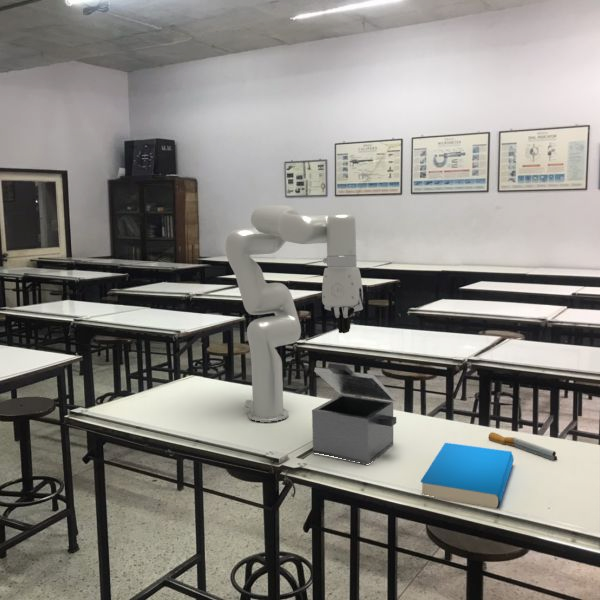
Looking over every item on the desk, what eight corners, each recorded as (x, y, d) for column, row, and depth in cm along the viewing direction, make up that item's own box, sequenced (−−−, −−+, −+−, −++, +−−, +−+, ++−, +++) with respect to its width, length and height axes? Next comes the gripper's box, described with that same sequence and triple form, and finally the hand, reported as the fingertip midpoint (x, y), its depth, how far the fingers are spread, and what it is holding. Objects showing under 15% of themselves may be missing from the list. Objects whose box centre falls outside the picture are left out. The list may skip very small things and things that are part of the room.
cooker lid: (307, 365, 157) (310, 354, 158) (339, 393, 173) (341, 383, 174) (366, 372, 148) (369, 361, 150) (394, 401, 164) (396, 390, 165)
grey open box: (313, 454, 161) (312, 410, 160) (341, 435, 175) (340, 394, 173) (381, 468, 151) (381, 421, 149) (405, 447, 164) (405, 403, 163)
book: (420, 480, 135) (443, 441, 158) (420, 499, 136) (443, 457, 158) (501, 493, 128) (513, 450, 151) (501, 512, 129) (513, 466, 151)
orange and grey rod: (487, 435, 168) (493, 428, 169) (489, 443, 169) (496, 437, 170) (548, 457, 152) (555, 450, 153) (550, 466, 153) (557, 459, 154)
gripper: (309, 263, 159) (312, 333, 161) (361, 263, 151) (363, 336, 153) (323, 261, 165) (325, 328, 167) (374, 261, 158) (376, 331, 160)
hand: (344, 332), depth 160 cm, fingers closed
